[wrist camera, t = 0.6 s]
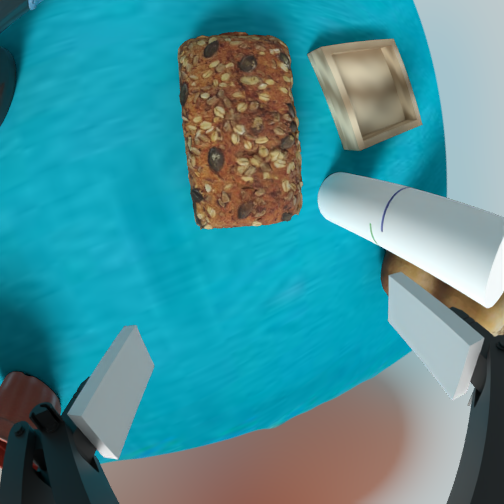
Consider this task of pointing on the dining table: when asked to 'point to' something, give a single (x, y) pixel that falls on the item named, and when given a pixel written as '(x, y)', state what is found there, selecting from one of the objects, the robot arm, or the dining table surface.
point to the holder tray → (366, 91)
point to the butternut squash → (445, 293)
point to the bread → (240, 130)
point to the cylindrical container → (422, 231)
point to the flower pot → (21, 404)
